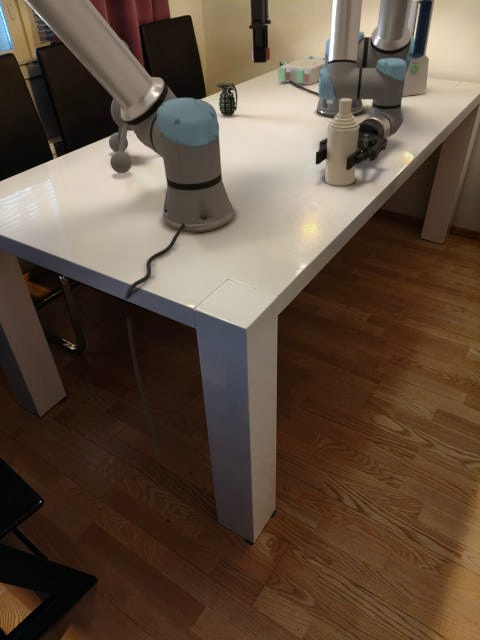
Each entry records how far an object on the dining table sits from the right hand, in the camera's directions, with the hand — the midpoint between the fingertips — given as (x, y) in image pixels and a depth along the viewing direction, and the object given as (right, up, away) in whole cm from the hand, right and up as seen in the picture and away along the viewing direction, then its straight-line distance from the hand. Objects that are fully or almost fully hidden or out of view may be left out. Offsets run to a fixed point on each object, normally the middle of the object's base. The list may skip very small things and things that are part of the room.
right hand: (332, 161), depth 113 cm
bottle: (+3, -2, +7) cm, 8 cm away
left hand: (-17, +22, -4) cm, 28 cm away
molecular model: (-48, +9, +26) cm, 55 cm away
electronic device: (+40, +47, +68) cm, 92 cm away
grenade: (-26, +34, +56) cm, 71 cm away
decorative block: (+7, +66, +95) cm, 116 cm away
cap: (-17, +23, -5) cm, 29 cm away
